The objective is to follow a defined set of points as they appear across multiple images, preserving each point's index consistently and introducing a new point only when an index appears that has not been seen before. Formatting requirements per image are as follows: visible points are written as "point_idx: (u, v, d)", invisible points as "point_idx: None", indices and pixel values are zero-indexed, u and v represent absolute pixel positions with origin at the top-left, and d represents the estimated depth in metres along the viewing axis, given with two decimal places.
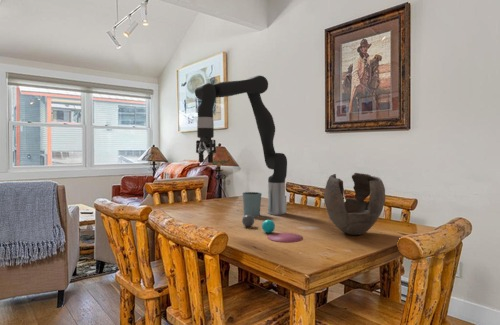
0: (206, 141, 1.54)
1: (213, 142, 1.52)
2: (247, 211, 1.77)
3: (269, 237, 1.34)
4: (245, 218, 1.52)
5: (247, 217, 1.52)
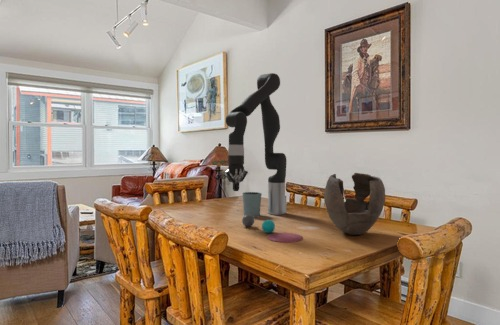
0: None
1: (226, 174, 1.57)
2: (247, 211, 1.77)
3: (269, 237, 1.34)
4: (245, 218, 1.52)
5: (247, 217, 1.52)
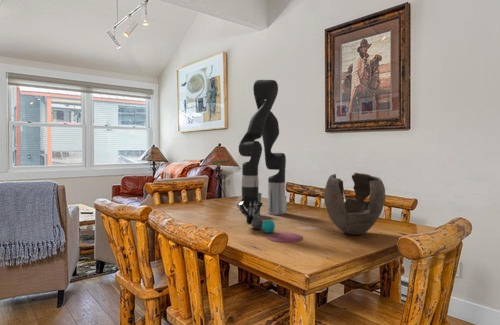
0: None
1: (239, 207, 1.48)
2: None
3: (269, 237, 1.34)
4: (255, 226, 1.47)
5: (256, 228, 1.47)
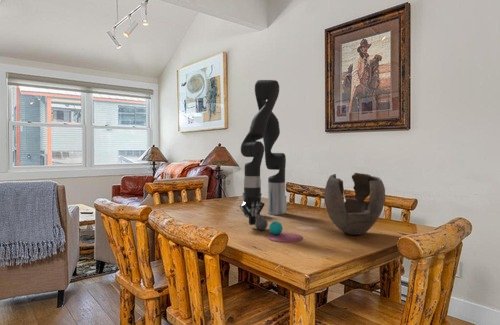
0: None
1: (242, 208, 1.47)
2: None
3: (269, 237, 1.34)
4: (257, 227, 1.46)
5: (257, 228, 1.47)
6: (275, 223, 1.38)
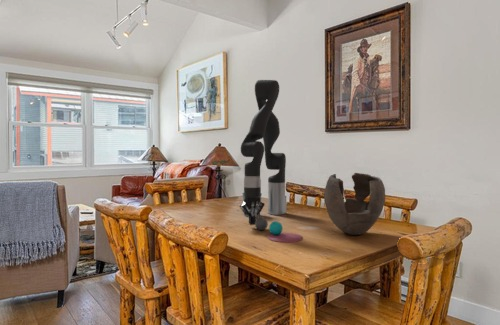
0: None
1: (242, 208, 1.47)
2: None
3: (269, 237, 1.34)
4: (257, 227, 1.46)
5: (257, 228, 1.47)
6: (275, 223, 1.38)
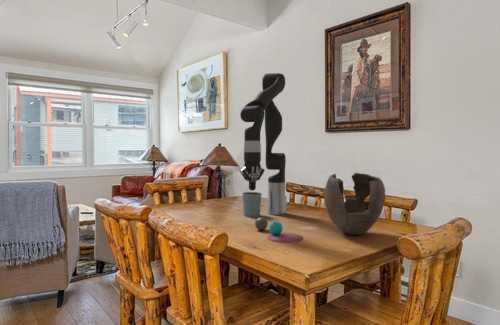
0: None
1: (242, 173, 1.47)
2: (247, 211, 1.77)
3: (269, 237, 1.34)
4: (257, 227, 1.46)
5: (257, 228, 1.47)
6: (275, 223, 1.38)
